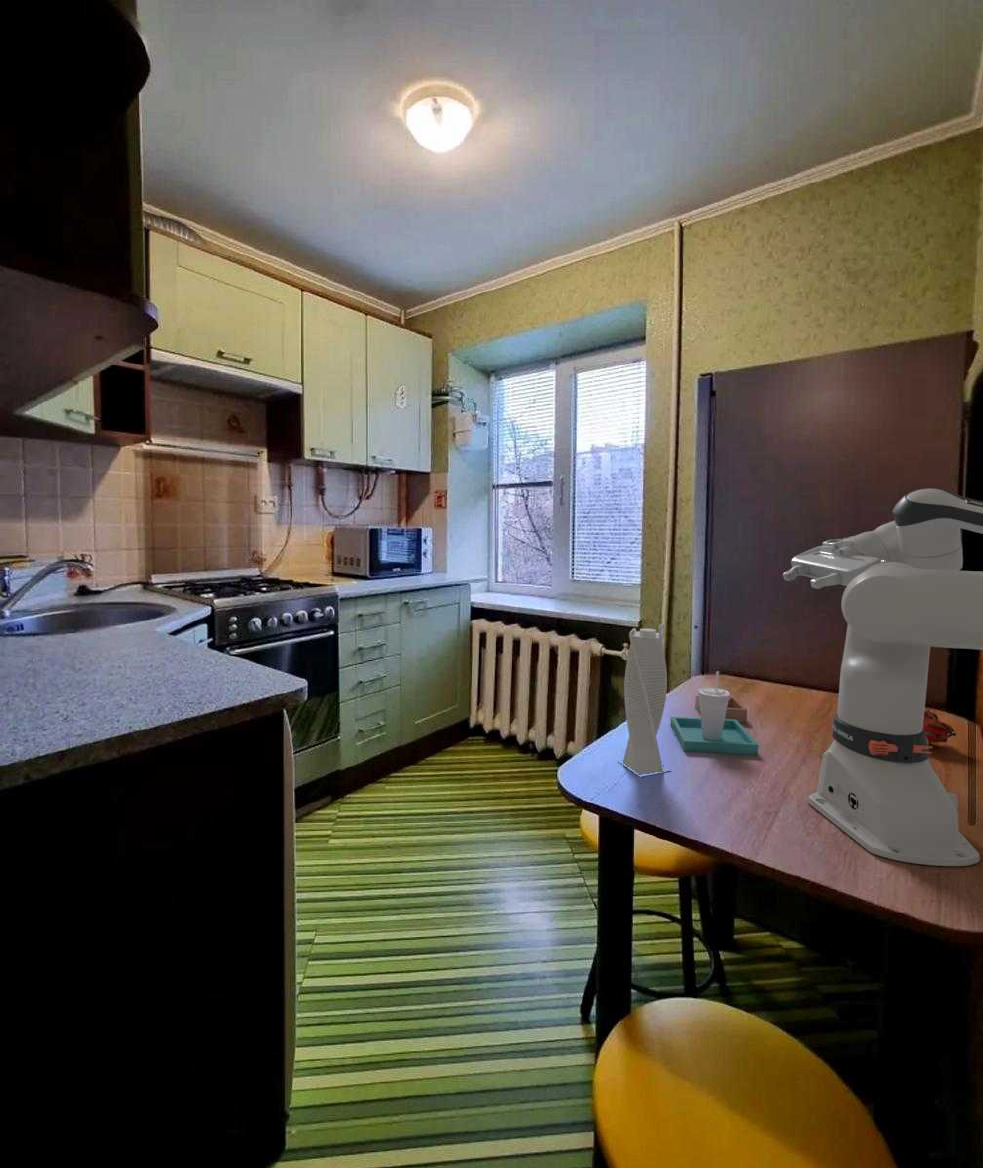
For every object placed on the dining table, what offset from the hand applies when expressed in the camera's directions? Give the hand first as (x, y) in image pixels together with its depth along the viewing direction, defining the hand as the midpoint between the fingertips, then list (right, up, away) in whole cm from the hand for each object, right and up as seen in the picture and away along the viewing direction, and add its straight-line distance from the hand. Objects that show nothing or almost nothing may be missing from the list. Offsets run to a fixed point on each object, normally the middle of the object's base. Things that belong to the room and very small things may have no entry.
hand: (798, 581), depth 118 cm
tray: (-19, -33, -1) cm, 38 cm away
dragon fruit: (+23, -34, -2) cm, 41 cm away
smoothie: (-19, -33, -1) cm, 38 cm away
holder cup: (-11, -31, +14) cm, 36 cm away
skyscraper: (-37, -35, -14) cm, 53 cm away
